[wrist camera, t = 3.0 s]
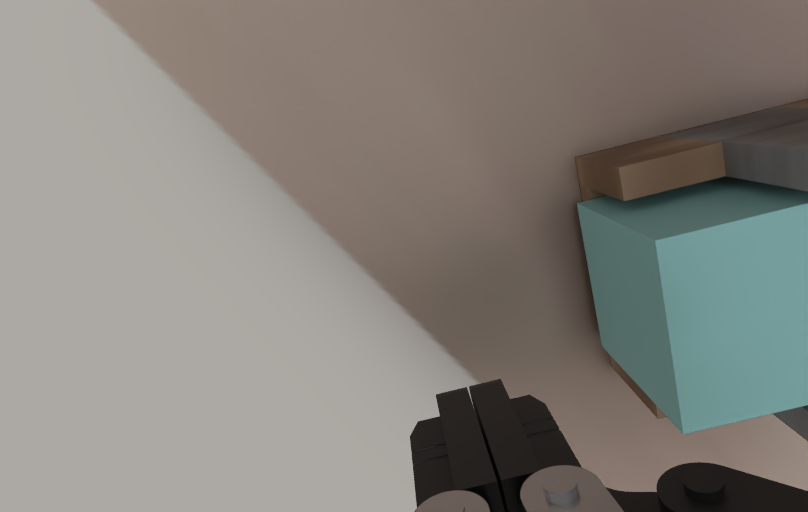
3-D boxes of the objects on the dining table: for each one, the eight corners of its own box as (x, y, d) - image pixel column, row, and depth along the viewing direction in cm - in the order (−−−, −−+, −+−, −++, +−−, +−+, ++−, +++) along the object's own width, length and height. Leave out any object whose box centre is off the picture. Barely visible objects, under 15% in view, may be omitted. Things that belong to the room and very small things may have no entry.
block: (779, 152, 20) (943, 170, 14) (792, 300, 21) (947, 371, 15) (576, 203, 20) (655, 240, 14) (602, 346, 21) (683, 434, 16)
